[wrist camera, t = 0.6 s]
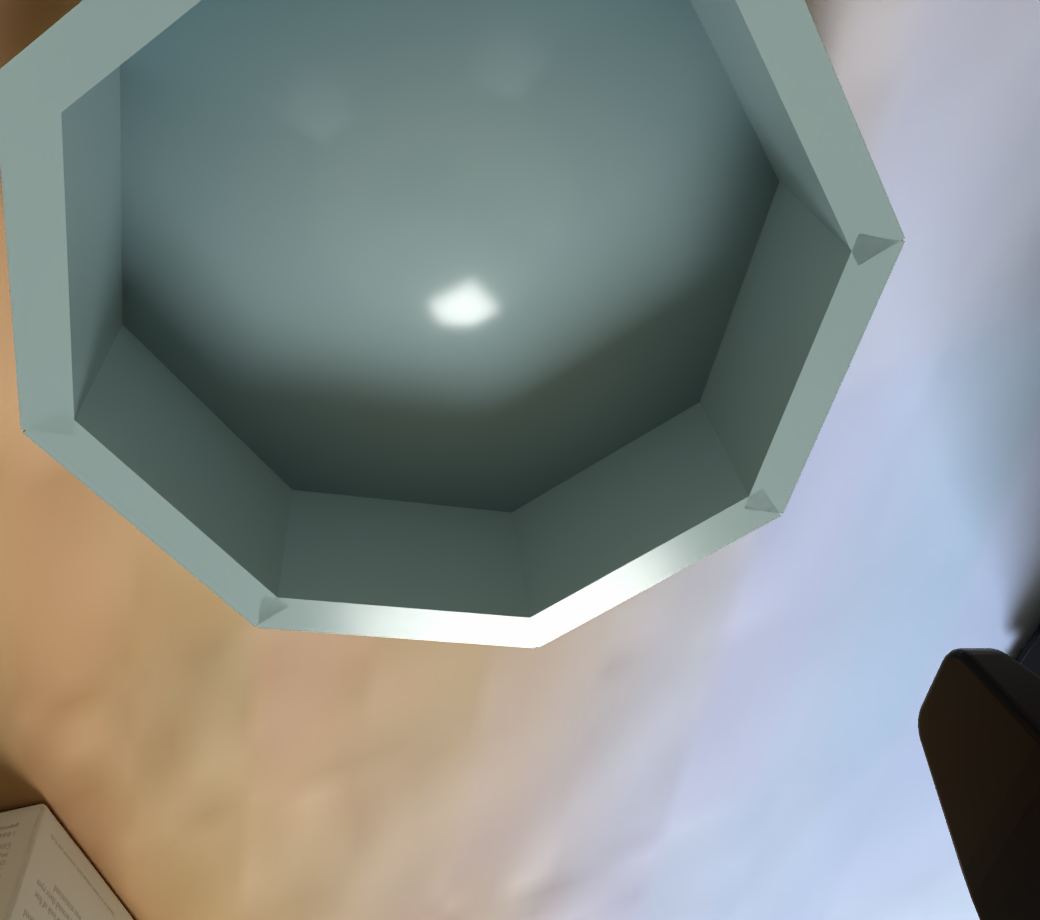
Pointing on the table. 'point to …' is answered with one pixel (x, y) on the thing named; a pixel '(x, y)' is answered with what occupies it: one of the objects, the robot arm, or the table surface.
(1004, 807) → the robot arm
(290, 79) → the bowl
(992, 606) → the table surface
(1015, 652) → the table surface
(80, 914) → the small box
